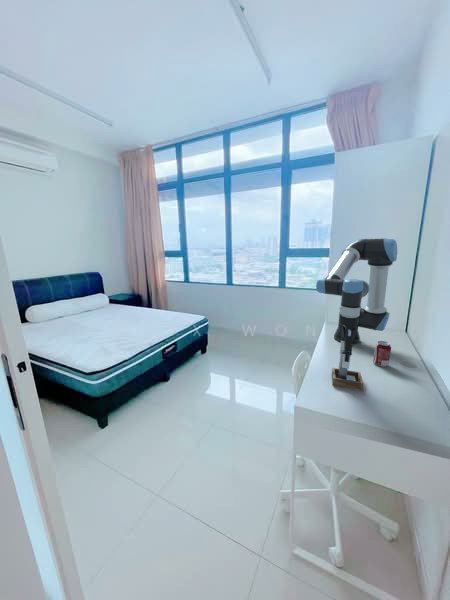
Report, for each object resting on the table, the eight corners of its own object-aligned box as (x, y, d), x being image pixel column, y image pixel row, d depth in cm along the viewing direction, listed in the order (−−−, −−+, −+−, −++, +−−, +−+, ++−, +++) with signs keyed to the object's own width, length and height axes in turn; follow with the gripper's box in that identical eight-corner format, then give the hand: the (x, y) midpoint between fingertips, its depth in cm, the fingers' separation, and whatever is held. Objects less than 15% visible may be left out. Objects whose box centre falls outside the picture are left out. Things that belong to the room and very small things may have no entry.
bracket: (338, 382, 111) (341, 354, 108) (337, 377, 116) (340, 349, 112) (355, 385, 109) (359, 356, 105) (354, 380, 113) (357, 352, 110)
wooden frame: (331, 374, 119) (332, 367, 118) (359, 379, 115) (360, 372, 114) (332, 385, 110) (333, 378, 109) (362, 390, 106) (363, 383, 105)
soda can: (390, 368, 124) (394, 346, 122) (375, 366, 126) (379, 345, 123) (384, 361, 131) (388, 340, 128) (371, 360, 132) (374, 340, 129)
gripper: (337, 307, 118) (333, 347, 123) (342, 323, 95) (336, 372, 101) (355, 308, 115) (350, 350, 121) (363, 325, 93) (357, 376, 98)
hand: (344, 360), depth 111 cm, fingers open, 13 cm apart
